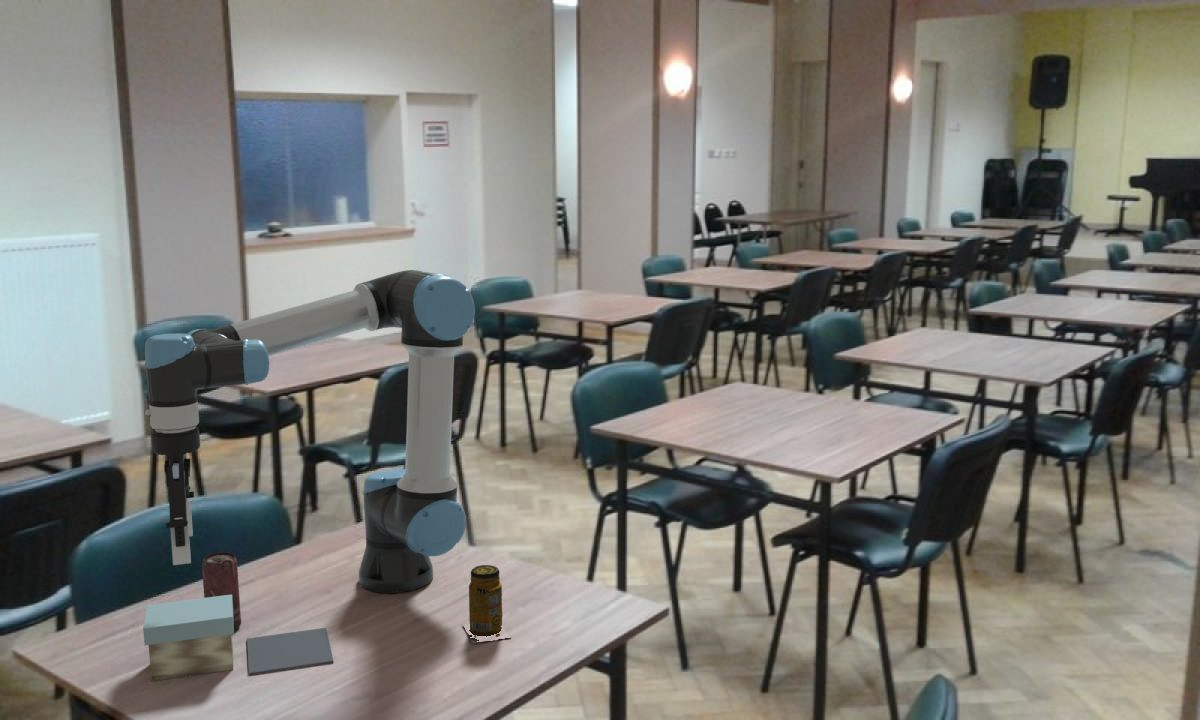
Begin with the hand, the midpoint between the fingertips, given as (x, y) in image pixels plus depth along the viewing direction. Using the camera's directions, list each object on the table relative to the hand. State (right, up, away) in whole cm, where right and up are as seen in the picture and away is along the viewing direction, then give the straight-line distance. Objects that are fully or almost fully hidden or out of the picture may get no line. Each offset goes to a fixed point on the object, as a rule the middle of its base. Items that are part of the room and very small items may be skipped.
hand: (183, 549), depth 183 cm
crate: (0, -21, +4) cm, 21 cm away
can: (+1, -18, +19) cm, 26 cm away
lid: (0, -14, +3) cm, 14 cm away
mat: (+15, -20, +9) cm, 27 cm away
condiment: (+50, -18, +17) cm, 56 cm away
